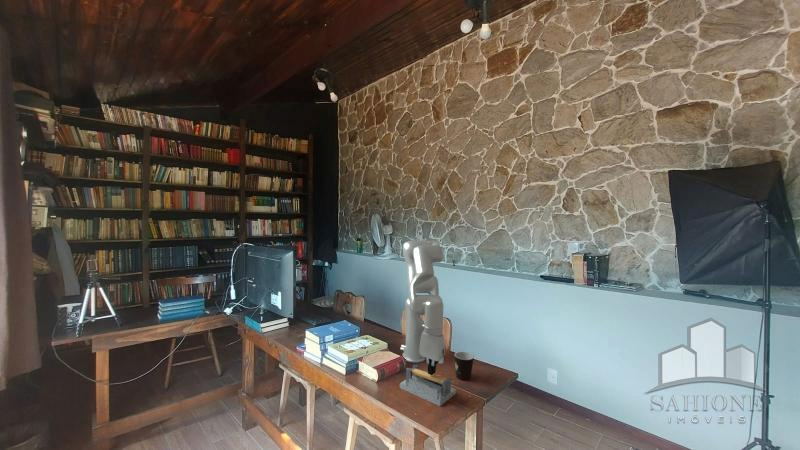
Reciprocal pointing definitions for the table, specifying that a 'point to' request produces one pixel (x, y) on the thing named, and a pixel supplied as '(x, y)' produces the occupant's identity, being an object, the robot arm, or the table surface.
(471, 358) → the coffee mug
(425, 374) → the tan rectangular bar
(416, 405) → the table surface
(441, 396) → the grey slotted holder
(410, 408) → the table surface
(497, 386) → the table surface
